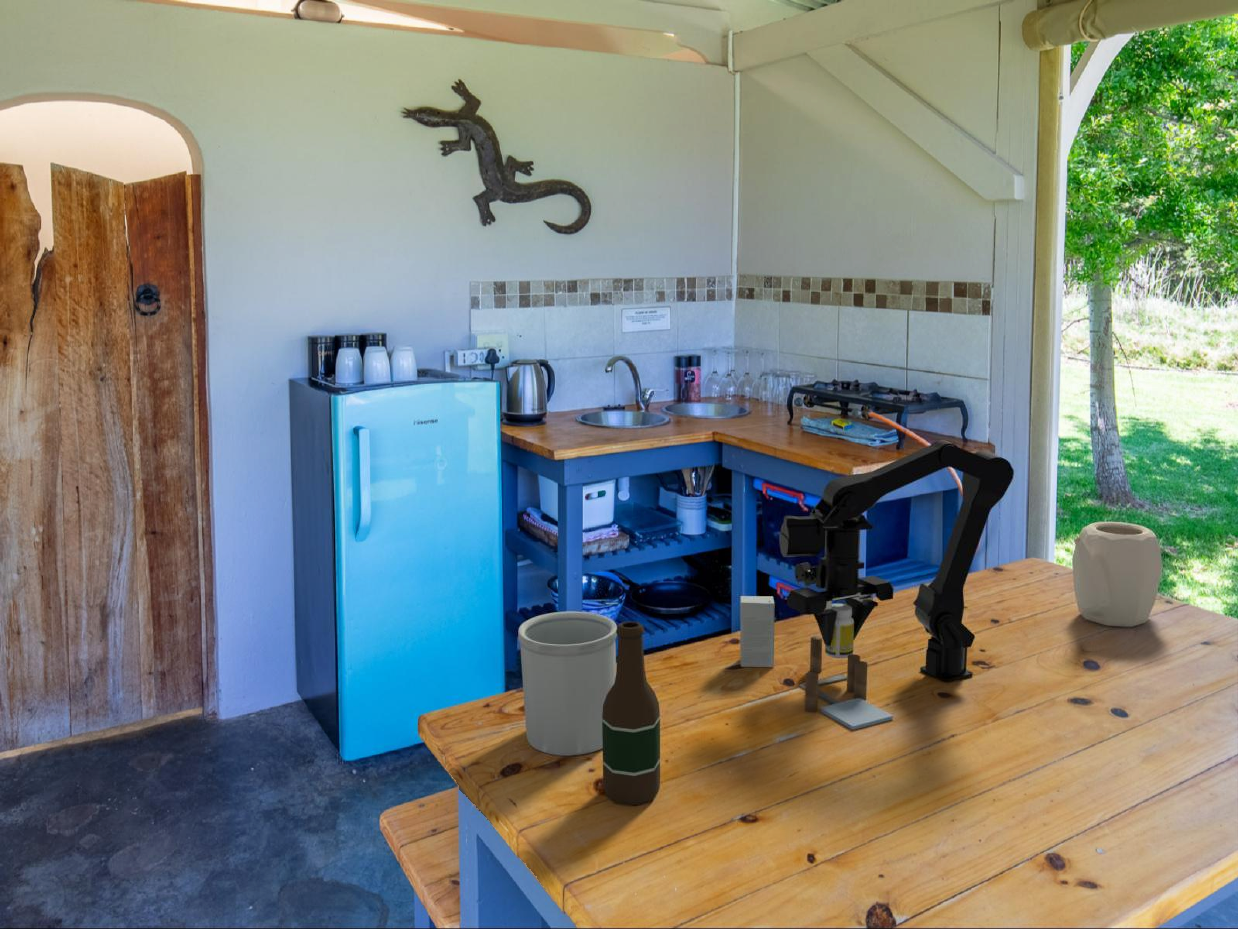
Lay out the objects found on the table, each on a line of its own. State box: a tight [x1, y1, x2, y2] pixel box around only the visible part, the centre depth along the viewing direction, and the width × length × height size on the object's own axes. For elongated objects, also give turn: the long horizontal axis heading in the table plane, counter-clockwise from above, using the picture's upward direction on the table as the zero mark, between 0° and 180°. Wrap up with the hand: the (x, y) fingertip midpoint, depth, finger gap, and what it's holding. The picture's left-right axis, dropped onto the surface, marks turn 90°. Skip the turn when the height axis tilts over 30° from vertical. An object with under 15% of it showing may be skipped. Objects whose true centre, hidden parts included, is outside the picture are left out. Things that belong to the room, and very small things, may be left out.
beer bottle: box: [602, 621, 661, 807], centre depth 141 cm, size 8×8×24 cm
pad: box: [819, 698, 894, 731], centre depth 167 cm, size 8×8×1 cm
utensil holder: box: [517, 610, 618, 757], centre depth 159 cm, size 15×15×18 cm
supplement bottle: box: [824, 603, 855, 659], centre depth 180 cm, size 5×5×8 cm
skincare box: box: [739, 595, 776, 668], centre depth 188 cm, size 6×4×12 cm
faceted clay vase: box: [1071, 521, 1163, 628], centre depth 208 cm, size 16×27×19 cm, turn 124°
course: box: [799, 635, 868, 714], centre depth 177 cm, size 14×15×6 cm
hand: (839, 642), depth 180 cm, fingers closed on supplement bottle, 5 cm apart
